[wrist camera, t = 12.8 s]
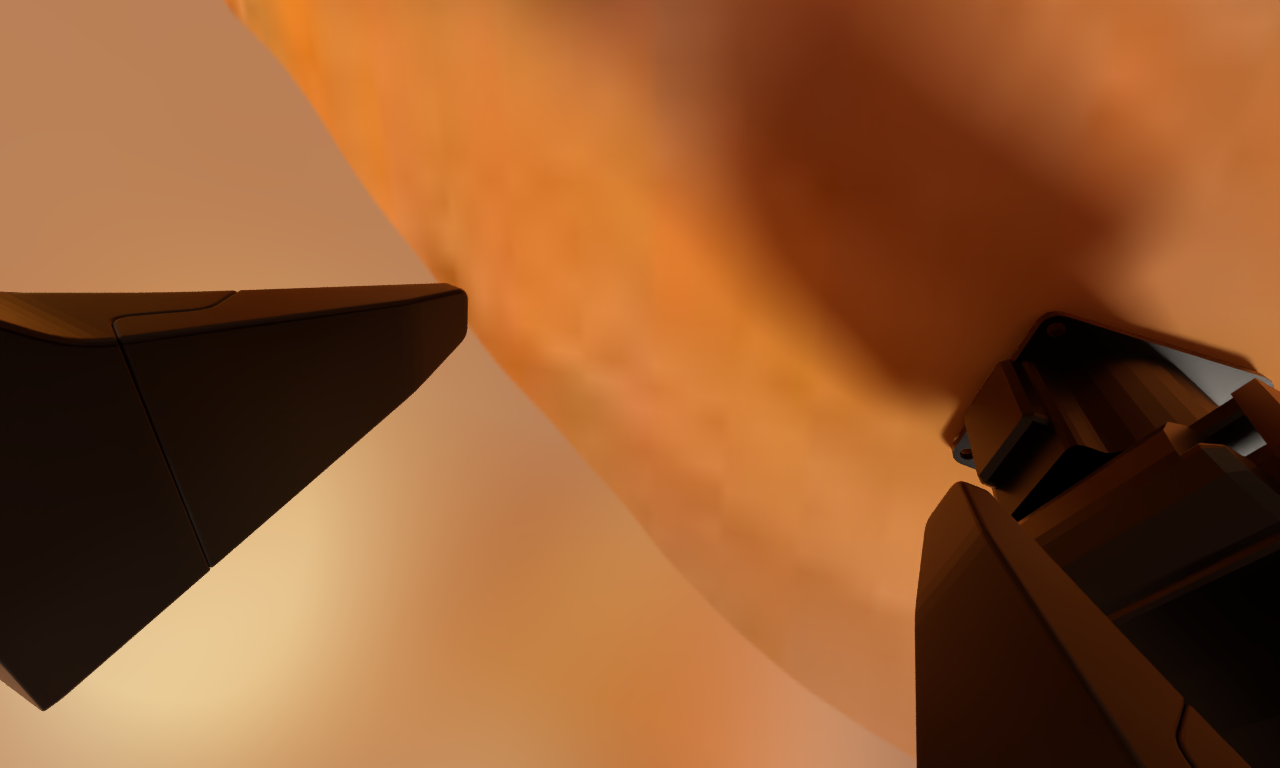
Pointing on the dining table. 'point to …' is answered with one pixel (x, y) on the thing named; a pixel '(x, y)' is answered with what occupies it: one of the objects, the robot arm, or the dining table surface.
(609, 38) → the dining table surface
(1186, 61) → the dining table surface
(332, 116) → the dining table surface
